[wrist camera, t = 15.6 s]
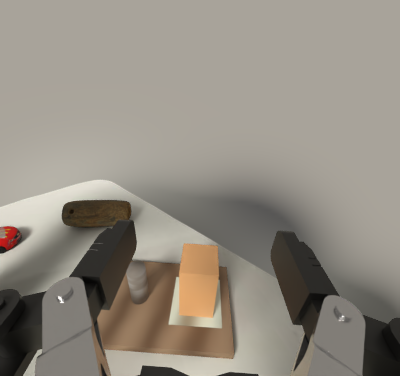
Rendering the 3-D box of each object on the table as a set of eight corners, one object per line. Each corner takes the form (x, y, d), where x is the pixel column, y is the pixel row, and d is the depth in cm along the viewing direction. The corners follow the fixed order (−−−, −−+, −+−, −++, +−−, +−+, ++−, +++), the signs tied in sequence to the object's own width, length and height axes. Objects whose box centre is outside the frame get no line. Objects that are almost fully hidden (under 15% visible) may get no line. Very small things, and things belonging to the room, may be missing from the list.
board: (76, 347, 27) (58, 313, 23) (117, 264, 40) (110, 232, 36) (232, 358, 27) (242, 326, 23) (225, 272, 39) (230, 241, 35)
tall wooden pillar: (179, 315, 30) (179, 272, 25) (183, 284, 35) (183, 243, 30) (212, 317, 30) (218, 275, 25) (212, 286, 35) (217, 245, 30)
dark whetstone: (63, 236, 46) (55, 213, 43) (73, 218, 52) (66, 196, 49) (130, 229, 49) (127, 207, 46) (132, 212, 55) (129, 192, 52)
